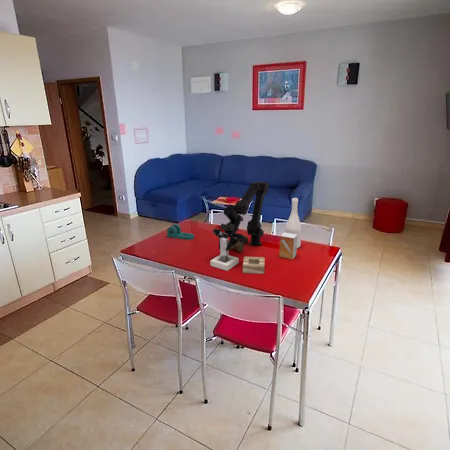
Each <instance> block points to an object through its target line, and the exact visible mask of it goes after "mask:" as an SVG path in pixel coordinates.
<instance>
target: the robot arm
mask: <svg viewBox="0 0 450 450" xmlns="http://www.w3.org/2000/svg"><path fill="white" fill-rule="evenodd" d="M269 187H270V185H269V183H268V182H267V181H259V180H258V181H256V182H250V183H249V187H248V188H247V190H246V191H245V193H244V195H243V196H242V198H241V199H240V200H238V201H237V202H236V203H234V204H228V206H226V207H225V208H224V209H223V214H224V216H225V217H226V218H227V219H228V220H229V222H226V224H225V223H221V224H220V228H213V230H212V234H213V235H215V236H216V238H218V240H219V241H218V249H219V250H220V237H222V236H227V237H228V238H229V240H230V241H229V240H228V241H229V244H228V246H227V248H226V251H230V250H229V249H230V248H231V247H233V246H234V245H235V244H237V243H239V242H238V241H240V242H241V243H245V241H246V238H245V237H244V236H245V235H244V234H243V233H238V231H239V230H240V229H239V227H240V224H241V222H244V218H243V216H244V215H247V213H248V211H249V209H250V207H249V205H250V203H251V201H252V200H253V199H254V197H255V199H254V205H253V210H252V216H251V219H250V220H249V221H247V225H246V232H247V235H248V236H250V241H248V243H249V244H250V246H251V247H259V246H262V245H263V243H262V242H261V237H263V236H264V232H265V231H264V230H263V229H262V223H261V215H262V209H263V204H264V198H265V196H267V194H268V192H269V189H270V188H269ZM241 215H242V216H241ZM245 244H246V243H245Z"/></svg>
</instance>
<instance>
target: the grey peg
mask: <svg viewBox="0 0 450 450" xmlns="http://www.w3.org/2000/svg"><path fill="white" fill-rule="evenodd" d="M228 241H229V237H227V236H222V237H220V249H219V251H220V252H219V253H220V254H219V255H220V256H221V261H222V262H224V263H227V262H226V261H228V260H229V256H230V254H229V251H230V250H228V251H226V248H227V246H228Z"/></svg>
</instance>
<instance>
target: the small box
mask: <svg viewBox="0 0 450 450" xmlns="http://www.w3.org/2000/svg"><path fill="white" fill-rule="evenodd" d="M297 250H298V248H297V234H291V233H285V231H284V232H282V233H281V235H280V237H279V252H278V253H279V255H278V256H279V257H280V258H285V259H289V260H294V258H295V257H296V256H297Z"/></svg>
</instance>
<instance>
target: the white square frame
mask: <svg viewBox="0 0 450 450" xmlns="http://www.w3.org/2000/svg"><path fill="white" fill-rule="evenodd" d="M209 262H210V263H209V264H210V267H214V268H216V269H220V270H224V271H226V272H228V271H229V270H230V269H232V268H233V267H235V266H236V265H238V264H239V263H240V262H239V257H236V256H232V255H229V260H228V261H226V262H223V261H221V256H220V254H218V256H216V257H214V258H213V259H211V260H210V261H209Z"/></svg>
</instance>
